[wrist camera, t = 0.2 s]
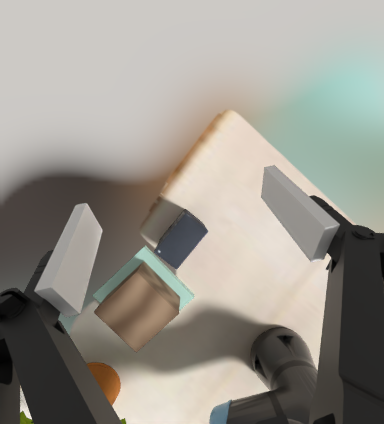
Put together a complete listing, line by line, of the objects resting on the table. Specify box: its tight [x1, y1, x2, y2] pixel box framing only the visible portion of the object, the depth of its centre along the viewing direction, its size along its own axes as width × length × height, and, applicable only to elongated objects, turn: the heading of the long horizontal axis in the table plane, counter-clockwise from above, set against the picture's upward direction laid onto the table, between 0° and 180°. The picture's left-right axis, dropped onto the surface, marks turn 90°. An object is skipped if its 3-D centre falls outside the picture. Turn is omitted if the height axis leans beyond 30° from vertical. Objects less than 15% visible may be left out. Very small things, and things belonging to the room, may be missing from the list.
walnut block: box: [94, 261, 180, 352], centre depth 47 cm, size 13×13×7 cm
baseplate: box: [93, 246, 194, 311], centre depth 51 cm, size 18×18×2 cm
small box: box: [154, 209, 208, 269], centre depth 46 cm, size 11×6×10 cm, turn 141°
